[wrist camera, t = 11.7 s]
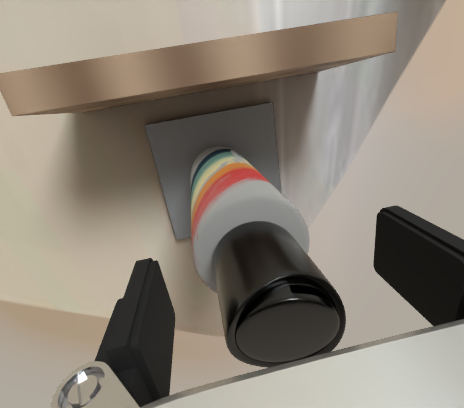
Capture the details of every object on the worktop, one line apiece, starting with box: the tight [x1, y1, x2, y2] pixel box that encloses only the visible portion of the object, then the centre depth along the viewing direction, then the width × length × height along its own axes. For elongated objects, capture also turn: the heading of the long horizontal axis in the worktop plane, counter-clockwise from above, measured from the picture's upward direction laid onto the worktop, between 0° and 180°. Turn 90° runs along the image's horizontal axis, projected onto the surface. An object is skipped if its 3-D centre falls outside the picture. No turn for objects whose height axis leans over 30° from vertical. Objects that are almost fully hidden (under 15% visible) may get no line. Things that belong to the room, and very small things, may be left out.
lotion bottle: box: [190, 146, 346, 368], centre depth 17 cm, size 6×6×20 cm
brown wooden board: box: [0, 12, 398, 116], centre depth 19 cm, size 22×2×10 cm, turn 99°
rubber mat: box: [145, 102, 281, 240], centre depth 26 cm, size 12×12×1 cm
